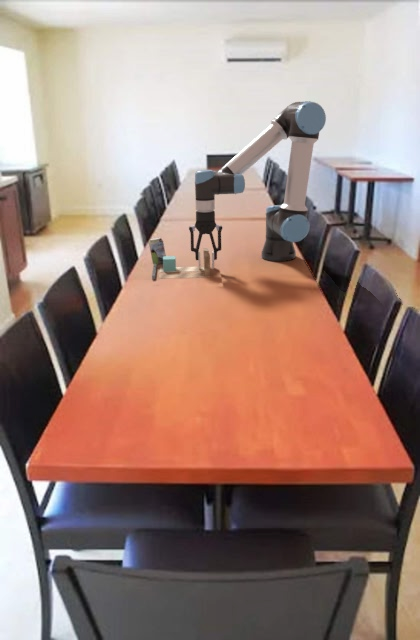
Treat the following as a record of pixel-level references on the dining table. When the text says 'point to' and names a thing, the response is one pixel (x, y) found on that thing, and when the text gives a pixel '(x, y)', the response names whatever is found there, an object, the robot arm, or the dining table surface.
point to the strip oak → (191, 275)
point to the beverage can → (157, 250)
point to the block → (169, 263)
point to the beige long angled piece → (189, 269)
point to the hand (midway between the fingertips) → (206, 267)
